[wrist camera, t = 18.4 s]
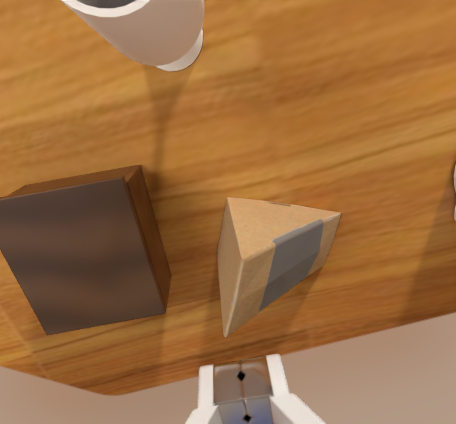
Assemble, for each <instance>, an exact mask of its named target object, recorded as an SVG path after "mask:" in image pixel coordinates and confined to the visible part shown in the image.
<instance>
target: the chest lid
mask: <svg viewBox="0 0 456 424" xmlns="http://www.w3.org/2000/svg"><path fill="white" fill-rule="evenodd" d="M0 250H1V252H2V254H3V255H4V257H5V259H6V261H7V263H8V265H9V266H10V268H11V270H12V272H13V274H14V276H15V277H16V279H17V281H18V283H19V285H20V287H21V288H22V290H23V292H24V294H25V296H26V298H27V299H28V301H29V303H30V305H31V307H32V309H33V310H34V312H35V314H36V316H37V318H38V320H39V321H40V323H41V325H42V327H43V329H44V331H45V332H46V334H47V335H51V334H57V333H62V332H68V331H73V330H79V329H84V328H90V327H95V326H101V325H106V324H111V323H117V322H122V321H128V320H133V319H139V318H144V317H150V316H155V315H161V314H165V312H166V307H165V304H164V301H163V298H162V295H161V292H160V288H159V285H158V282H157V279H156V276H155V272H154V269H153V266H152V263H151V260H150V257H149V253H148V250H147V247H146V244H145V241H144V237H143V234H142V231H141V228H140V225H139V222H138V218H137V215H136V212H135V209H134V206H133V202H132V199H131V196H130V193H129V190H128V187H127V183H126V180H125V177H124V175H122V176H117V177H111V178H106V179H100V180H94V181H89V182H83V183H78V184H72V185H67V186H61V187H55V188H50V189H44V190H39V191H33V192H28V193H22V194H16V195H11V196H5V197H0Z"/></svg>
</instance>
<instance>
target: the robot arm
mask: <svg viewBox="0 0 456 424" xmlns="http://www.w3.org/2000/svg"><path fill="white" fill-rule="evenodd" d="M454 188H455V192H456V165H455V170H454ZM454 220H455V221H456V206H455V210H454ZM185 424H326V423H325V422H324V421H323V420H322V419H320V417H318V416H317V415H316V414H315V413H314V412H313V411H312V410H311V409H310V408H309V407H308V406H307V405H306V404H305V403H304V402H303V401H302V400H300V398H299V397H298V396H296V395H295V394H294V393H291V394H290V392H289V388H288V384H287V381H286V377H285V373H284V369H283V365H282V361H281V357H280V355H279V354H273V355H267V356H261V357H255V358H249V359H244V360H240V361H233V362H226V363H219V364H212V365H206V366H200V369H199V386H198V409H194V410H193V411H192V412H191V414H190V416H189V417H188V419H187V420H186V422H185Z"/></svg>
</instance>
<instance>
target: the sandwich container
mask: <svg viewBox="0 0 456 424" xmlns="http://www.w3.org/2000/svg"><path fill="white" fill-rule="evenodd" d="M340 216H341V213H339V212H333V211H328V210H322V209H316V208H310V207H304V206H298V205H292V204H291V205H290V204H282V203H275V202H268V201H263V200H253V199H242V198H232V197H227V200H226V205H225V211H224V216H223V221H222V226H221V232H220V238H219V243H218V249H217V261H218V274H219V286H220V298H221V310H222V322H223V335H224V336H225V337H228V336H229V335H230V334H232V333H233V332H234V331H236V330H237V329H238V328H239V327H241V326H242V325H243V324H244V323H246V322H247V321H248V320H250V319H251V318H252V317H253V316H255V315H256V314H257V313H258V312H260V311H261V310H262V309H264V308H265V307H266V306H268V305H269V304H270V303H272V302H273V301H274V300H276V299H277V298H279V297H280V296H281V295H283V294H284V293H285V292H287V291H288V290H289V289H291V288H292V287H294V286H295V285H296V284H298V283H299V282H300V281H302V280H303V279H304V278H306V277H307V276H309V275H310V274H312V273H313V272H314V271H316V270H317V269H319V268H320V267H322V266H323V265H324V263H325V261H326V258H327V256H328V253H329V250H330V248H331V245H332V242H333V240H334V236H335V233H336V229H337V226H338V222H339V219H340Z"/></svg>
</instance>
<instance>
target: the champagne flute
mask: <svg viewBox="0 0 456 424" xmlns="http://www.w3.org/2000/svg"><path fill="white" fill-rule="evenodd" d="M61 1H62V2H63V3H64V4H65V5H67V6H68V7H69V8H70V9H71V10H72V11H73V12H75V13H76V14H77V15H78V16H79V17H80V18H82V19H83V20H84V21H85V22H86V23H87V24H88V25H90V26H91V27H92V28H93V29H94V30H95V31H96V32H98V33H99V34H100V35H101V36H102V37H103V38H104V39H106V40H107V41H108V42H109V43H110V44H111V45H112V46H114V47H115V48H116V49H117V50H118V51H119V52H121V53H122V54H123V55H125V56H126V57H128V58H129V59H131V60H133V61H136V62H138V63H140V64H145V65H150V66H156V67H157V68H160V69H162V70H166V71H178V70H182V69H184V68H186V67H188V66H189V65H191V64H192V63H193V62H194V61H195V59H196V58H197V56H198V55H199V53H200V50H201V47H202V42H203V31H202V25H203V18H204V0H61Z"/></svg>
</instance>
